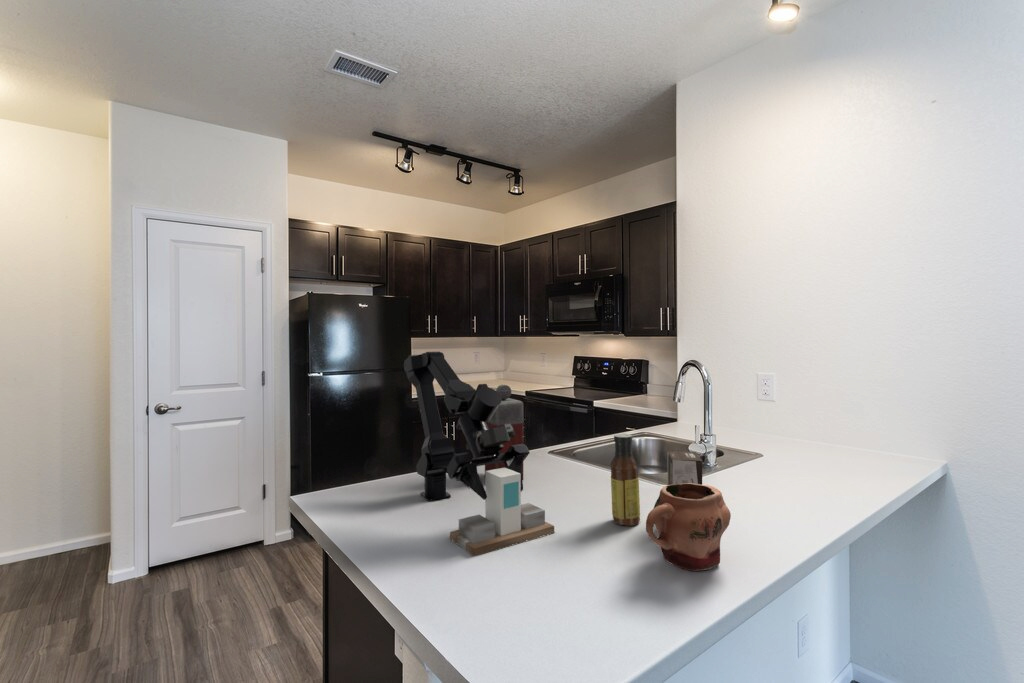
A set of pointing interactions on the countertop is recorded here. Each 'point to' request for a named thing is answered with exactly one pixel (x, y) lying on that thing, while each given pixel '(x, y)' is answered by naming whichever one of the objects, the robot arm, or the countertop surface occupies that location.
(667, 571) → the countertop surface
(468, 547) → the rail board
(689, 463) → the coffee box
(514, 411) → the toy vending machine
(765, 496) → the countertop surface
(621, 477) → the sauce bottle
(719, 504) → the terracotta clay mug
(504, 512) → the block
